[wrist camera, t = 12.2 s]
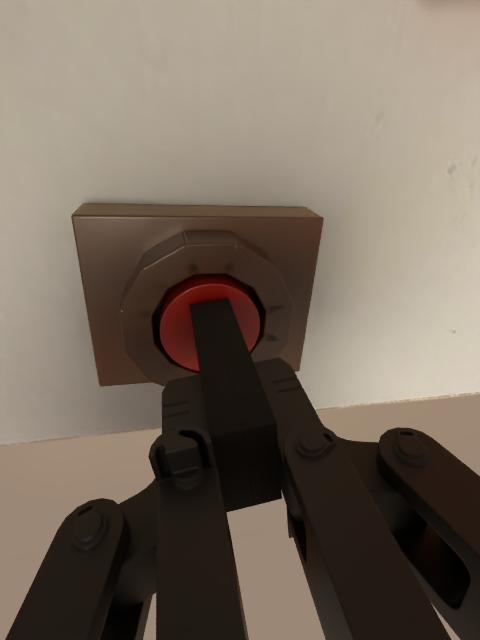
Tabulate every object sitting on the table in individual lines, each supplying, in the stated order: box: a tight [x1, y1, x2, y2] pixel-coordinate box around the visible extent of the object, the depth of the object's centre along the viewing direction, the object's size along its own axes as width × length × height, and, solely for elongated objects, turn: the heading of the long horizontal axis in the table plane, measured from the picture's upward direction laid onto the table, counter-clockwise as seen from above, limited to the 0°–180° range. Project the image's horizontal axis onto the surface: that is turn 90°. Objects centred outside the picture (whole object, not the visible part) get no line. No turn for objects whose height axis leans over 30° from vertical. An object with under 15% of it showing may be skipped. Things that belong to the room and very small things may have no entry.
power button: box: [160, 274, 260, 371], centre depth 15 cm, size 4×4×2 cm
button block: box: [72, 204, 323, 386], centre depth 16 cm, size 8×10×4 cm
